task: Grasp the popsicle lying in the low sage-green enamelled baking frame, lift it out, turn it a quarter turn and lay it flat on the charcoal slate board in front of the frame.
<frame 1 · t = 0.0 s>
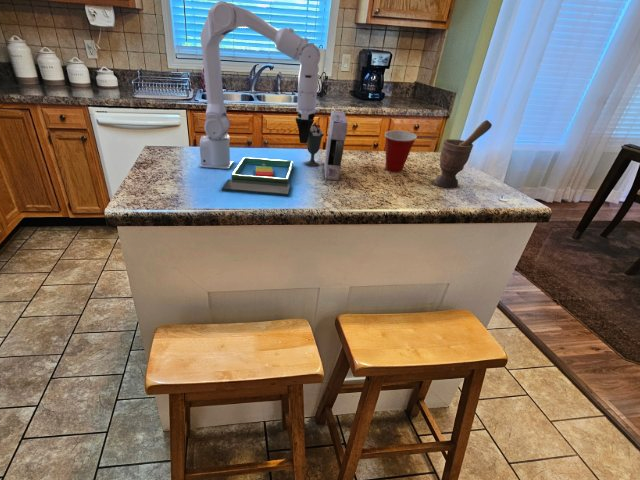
hand: (304, 140, 122), 10 cm above the countertop, tool pointing down, fingers open, 7 cm apart
cake pan box: (331, 173, 129), on the countertop
baking frame: (264, 173, 124), on the countertop
popsicle: (264, 174, 124), on the countertop
sundae: (311, 164, 136), on the countertop
slate board: (256, 189, 112), on the countertop
mortar and pestle: (450, 185, 125), on the countertop
plastic cup: (393, 170, 135), on the countertop
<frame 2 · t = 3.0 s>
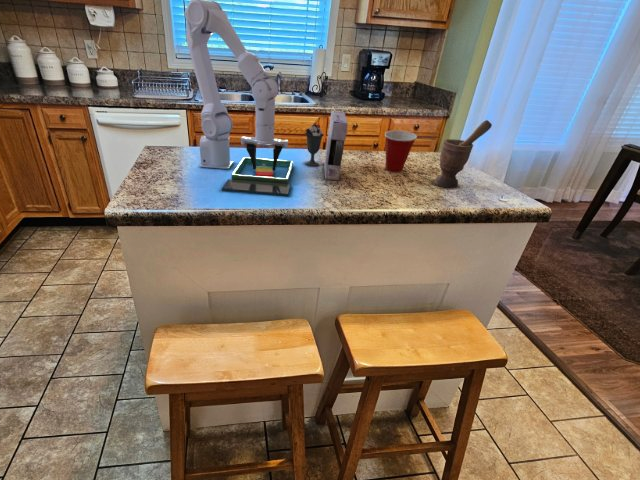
hand: (264, 169, 123), 1 cm above the countertop, tool pointing down, fingers closed on popsicle, 6 cm apart
popsicle: (264, 174, 124), on the countertop, touching gripper
everything else where it was.
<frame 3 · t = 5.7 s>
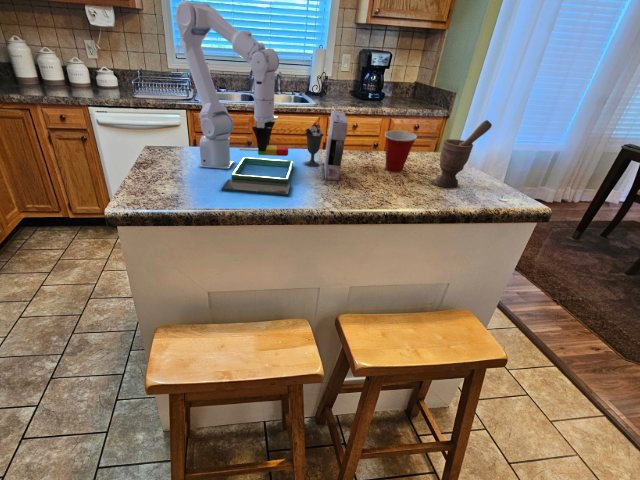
hand: (263, 148, 117), 8 cm above the countertop, tool pointing down, fingers closed on popsicle, 6 cm apart
popsicle: (263, 153, 118), point 7 cm above the countertop, touching gripper
everything else where it was.
when the fingers open (2 cm above the countertop, at t = 8.8 s): popsicle stays where it is, resting on slate board.
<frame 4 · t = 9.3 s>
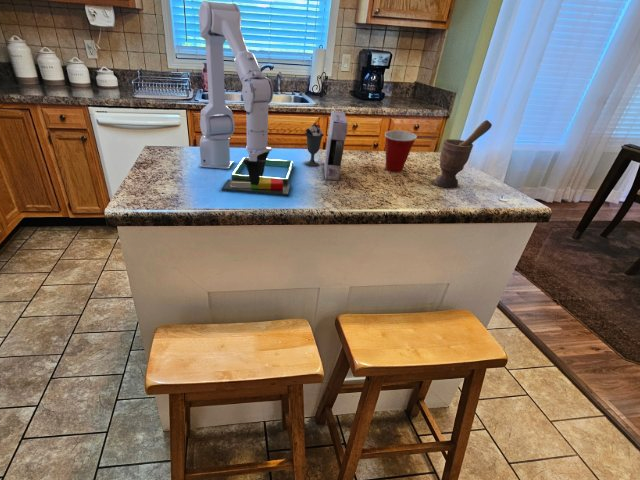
hand: (256, 180, 110), 3 cm above the countertop, tool pointing down, fingers open, 7 cm apart
popsicle: (257, 186, 112), point 1 cm above the countertop, touching slate board
everything else where it was.
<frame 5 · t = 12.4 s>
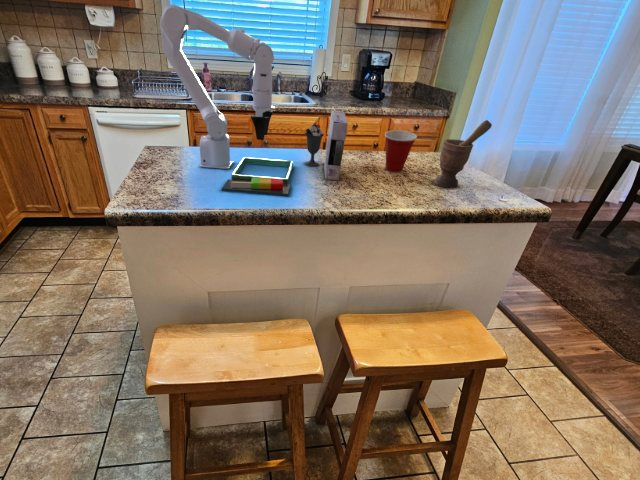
hand: (262, 137, 125), 9 cm above the countertop, tool pointing down, fingers open, 7 cm apart
nothing on the countertop moved.
at the end: popsicle inside the target area on the slate board (0.1 cm from its centre), point 0.6 cm above the slate board's base; popsicle touching slate board; the gripper is holding nothing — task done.
